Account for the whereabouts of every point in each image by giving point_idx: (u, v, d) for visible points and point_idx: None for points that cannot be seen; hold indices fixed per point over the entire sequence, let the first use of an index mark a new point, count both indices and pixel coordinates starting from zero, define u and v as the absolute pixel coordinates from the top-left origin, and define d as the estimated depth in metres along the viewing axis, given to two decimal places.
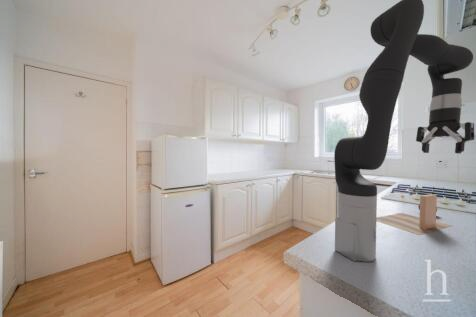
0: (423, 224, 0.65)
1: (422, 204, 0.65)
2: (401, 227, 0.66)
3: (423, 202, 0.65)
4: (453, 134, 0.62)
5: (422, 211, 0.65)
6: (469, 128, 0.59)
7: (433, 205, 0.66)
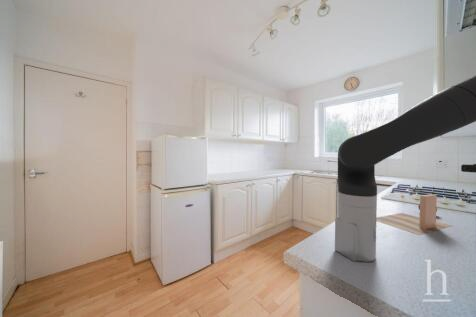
0: (423, 224, 0.65)
1: (422, 204, 0.65)
2: (401, 227, 0.66)
3: (423, 202, 0.65)
4: None
5: (422, 211, 0.65)
6: None
7: (433, 205, 0.66)
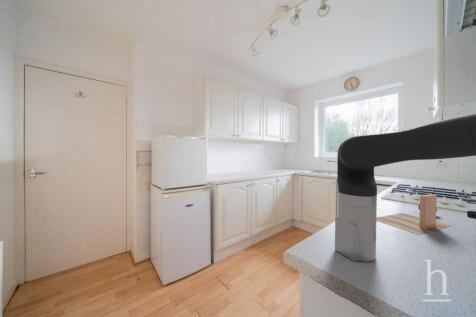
0: (423, 224, 0.65)
1: (422, 204, 0.65)
2: (401, 227, 0.66)
3: (423, 202, 0.65)
4: None
5: (422, 211, 0.65)
6: None
7: (433, 205, 0.66)
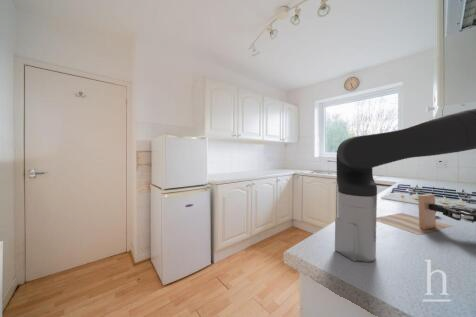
0: (423, 224, 0.65)
1: (421, 204, 0.66)
2: (401, 227, 0.66)
3: (421, 202, 0.65)
4: (455, 207, 0.59)
5: (421, 211, 0.65)
6: (451, 210, 0.57)
7: None
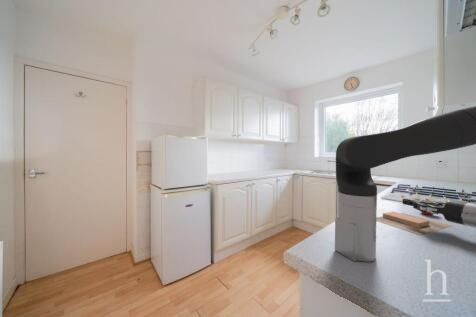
0: (412, 223, 0.68)
1: (390, 217, 0.75)
2: (401, 227, 0.66)
3: (388, 216, 0.75)
4: (424, 201, 0.66)
5: (398, 219, 0.72)
6: (419, 204, 0.65)
7: (400, 214, 0.76)
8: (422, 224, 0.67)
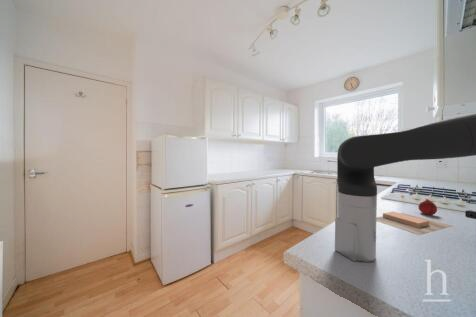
0: (412, 223, 0.68)
1: (390, 217, 0.75)
2: (401, 227, 0.66)
3: (388, 216, 0.75)
4: None
5: (398, 219, 0.72)
6: None
7: (400, 214, 0.76)
8: (422, 224, 0.67)
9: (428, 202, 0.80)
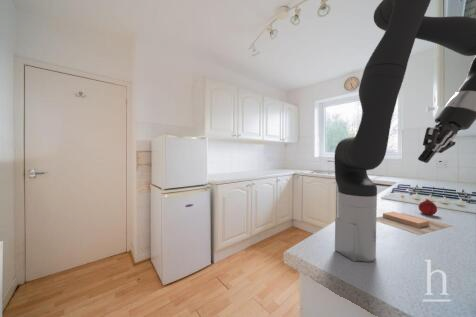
0: (412, 223, 0.68)
1: (390, 217, 0.75)
2: (401, 227, 0.66)
3: (388, 216, 0.75)
4: None
5: (398, 219, 0.72)
6: None
7: (400, 214, 0.76)
8: (422, 224, 0.67)
9: (428, 202, 0.80)
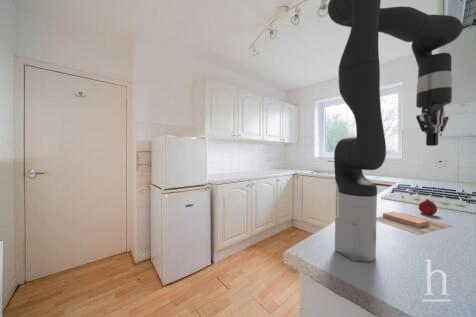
0: (412, 223, 0.68)
1: (390, 217, 0.75)
2: (401, 227, 0.66)
3: (388, 216, 0.75)
4: None
5: (398, 219, 0.72)
6: None
7: (400, 214, 0.76)
8: (422, 224, 0.67)
9: (428, 202, 0.80)
